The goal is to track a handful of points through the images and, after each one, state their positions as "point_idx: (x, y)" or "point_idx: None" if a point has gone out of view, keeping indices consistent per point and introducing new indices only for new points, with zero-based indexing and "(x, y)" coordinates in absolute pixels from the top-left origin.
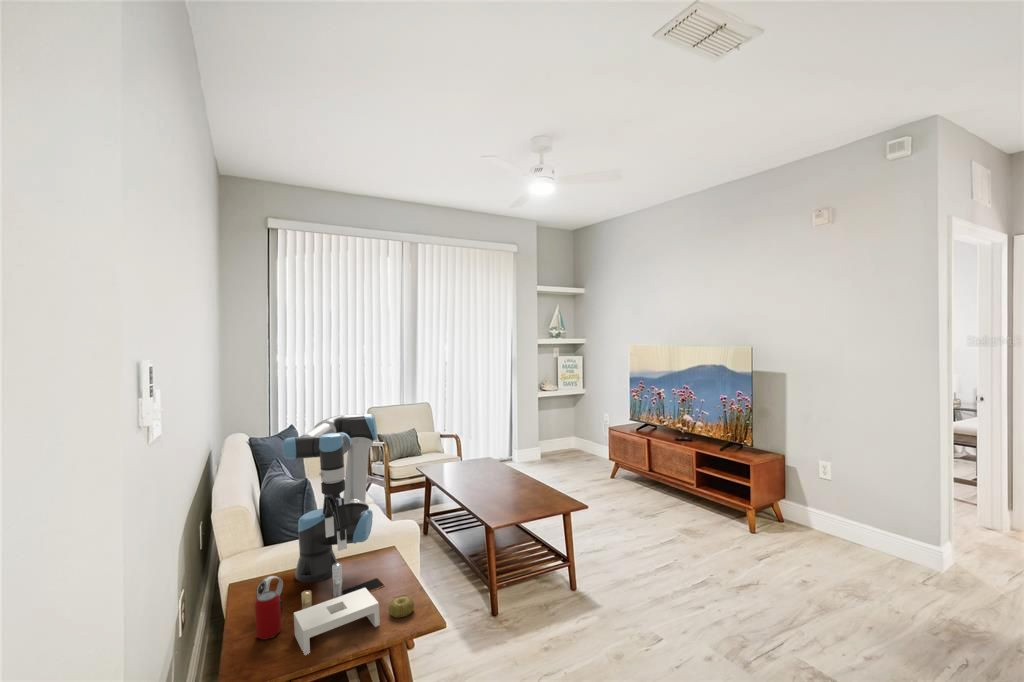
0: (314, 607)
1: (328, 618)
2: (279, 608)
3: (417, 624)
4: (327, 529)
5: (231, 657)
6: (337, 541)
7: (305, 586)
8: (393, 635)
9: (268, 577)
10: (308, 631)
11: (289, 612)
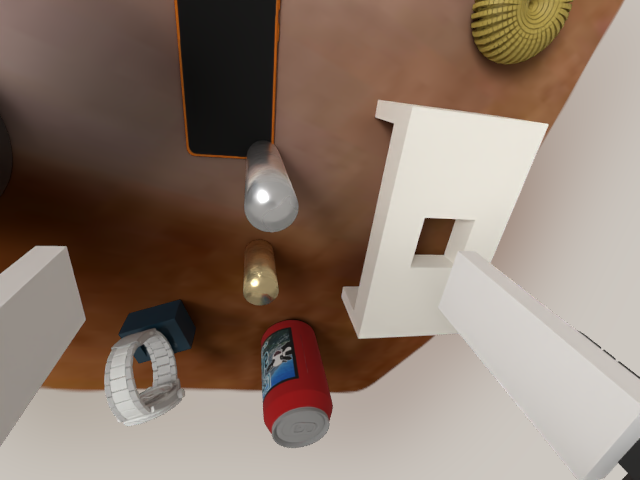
0: (381, 292)
1: None
2: (315, 368)
3: (594, 17)
4: (32, 380)
5: None
6: (482, 360)
7: (36, 208)
8: (558, 110)
9: (123, 416)
10: None
11: (212, 287)
